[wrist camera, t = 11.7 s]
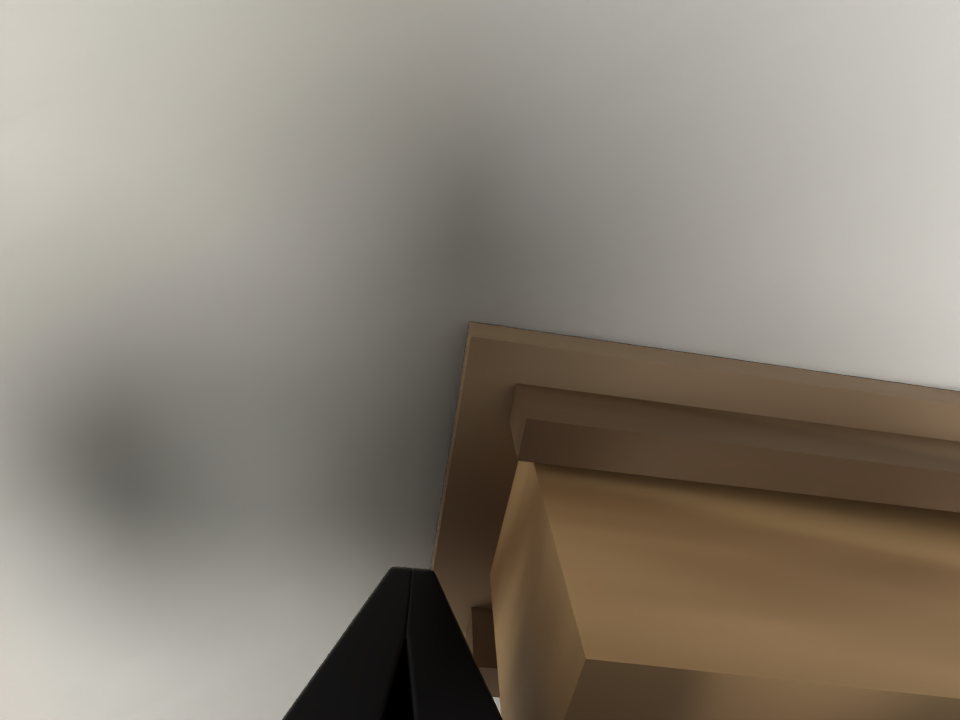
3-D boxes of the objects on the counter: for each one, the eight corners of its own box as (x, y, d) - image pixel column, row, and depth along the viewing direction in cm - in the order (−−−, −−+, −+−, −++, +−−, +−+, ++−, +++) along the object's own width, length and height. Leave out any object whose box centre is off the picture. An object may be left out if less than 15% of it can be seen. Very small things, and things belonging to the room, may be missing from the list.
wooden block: (1032, 641, 13) (1367, 913, 8) (489, 574, 11) (513, 860, 7) (1119, 524, 12) (1572, 764, 7) (525, 433, 10) (585, 658, 5)
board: (1100, 677, 15) (1221, 772, 12) (422, 620, 13) (414, 718, 11) (1288, 438, 12) (1487, 501, 10) (469, 321, 10) (473, 365, 8)
